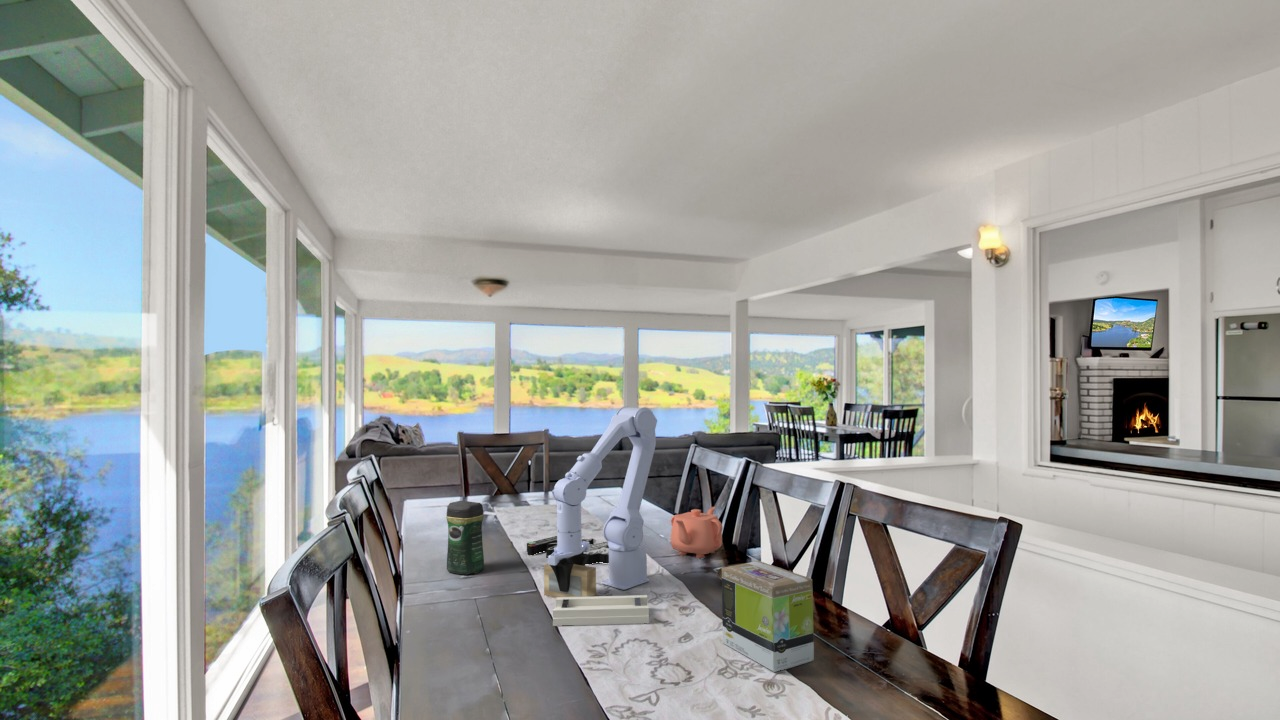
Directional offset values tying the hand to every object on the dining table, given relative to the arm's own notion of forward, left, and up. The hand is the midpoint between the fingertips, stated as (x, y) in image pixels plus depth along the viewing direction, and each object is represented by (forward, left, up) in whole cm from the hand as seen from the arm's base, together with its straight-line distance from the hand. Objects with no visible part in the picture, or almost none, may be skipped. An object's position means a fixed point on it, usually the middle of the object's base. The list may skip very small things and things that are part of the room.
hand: (569, 588), depth 150 cm
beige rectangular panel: (0, 0, -2) cm, 2 cm away
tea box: (-4, +51, -2) cm, 51 cm away
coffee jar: (+5, -37, -2) cm, 37 cm away
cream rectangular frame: (+4, +15, -2) cm, 16 cm away
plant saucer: (-35, +28, -2) cm, 45 cm away
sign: (-25, -25, -3) cm, 35 cm away
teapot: (-49, 0, -2) cm, 49 cm away
